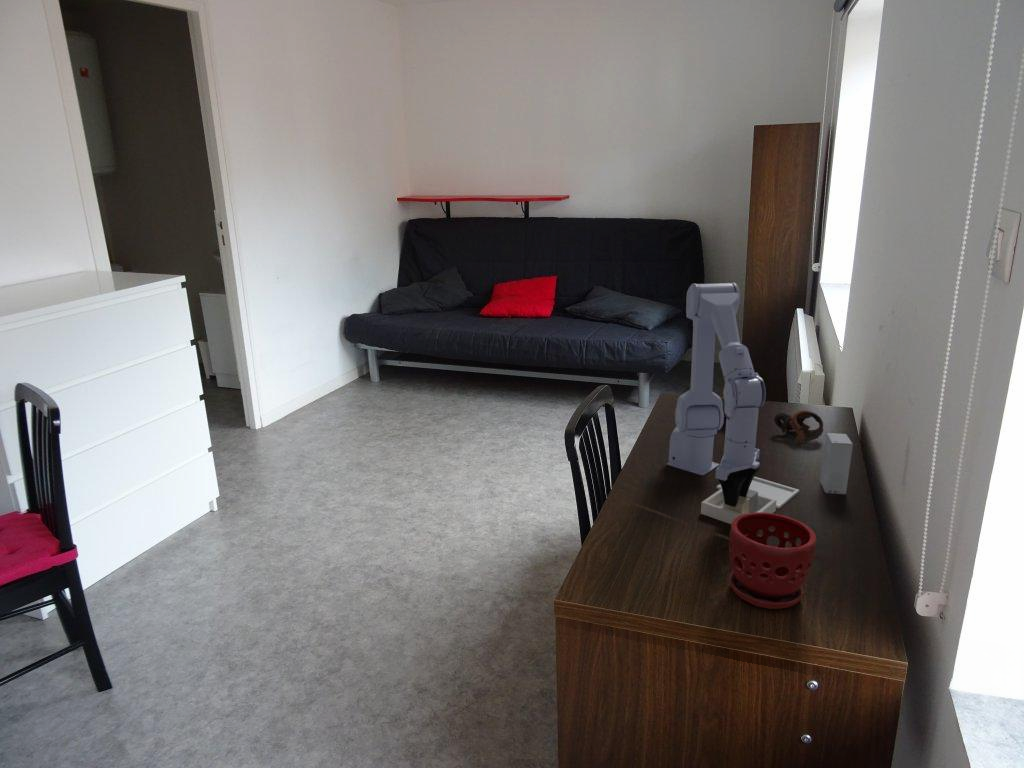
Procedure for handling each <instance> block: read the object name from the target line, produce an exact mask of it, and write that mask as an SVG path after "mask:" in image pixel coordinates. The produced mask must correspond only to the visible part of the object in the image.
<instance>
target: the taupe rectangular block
mask: <svg viewBox="0 0 1024 768" xmlns="http://www.w3.org/2000/svg"><path fill="white" fill-rule="evenodd" d="M749 505H750V498H747V497H742V496H739V498H738V502H737V504H736V506H735V507H732V506H729V505H726V504H725V501H724V498H723V508H725V509H728V510H731V511H734V512H737V513H740V514H747V513H749Z"/></svg>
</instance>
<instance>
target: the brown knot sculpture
mask: <svg viewBox="0 0 1024 768" xmlns="http://www.w3.org/2000/svg"><path fill="white" fill-rule="evenodd" d="M810 418H813V419H814V420H815V422H817V423H818V427H817V428H815V429H810V428H811V426H810V425H807V424H806V423H805V422H804V421H805V420H806V419H810ZM773 420H774V423H775V425H776V426H777V427H778V428H779V429H780V430H781V432H782V433H783V434H785V433H789V432H791V431H793V432H795V433H796V434H797V436H796V438H794V442H795V443H797V444H798V445H802V444H803V443H804V442H810V441H814V440H816V439H819V438H820V436H822V435H823V432H824V422H823V420H822V418H821V416H819V415H818V414H817V413H815V412H813V411H809V410H798V411H797V412H795V413H793V414H791V415H789V414H787V413H785V412H778V413H776V414H775V416H774V417H773Z"/></svg>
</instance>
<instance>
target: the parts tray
mask: <svg viewBox="0 0 1024 768" xmlns="http://www.w3.org/2000/svg"><path fill="white" fill-rule="evenodd" d="M721 488H722V487H721V484H720V483H719V484H717V485H716V489H717V490H720V489H721ZM749 489H750V490H754V491H757V492H758V494H759V495H762V496H765V497H769V498H772V499H775V500H777V501H776V509H781V508H782V507H783V506H784V505H786V504H787V502H789V501H791V500H792V499H794V497H795V496H797V494H799V493H800V489H798V488H794V487H791V486H787V485H783V484H781V483H778V482H774V481H772V480H771V481H770V480H768V479H764V478H762V477H761V478H760V477H757V476H754V478H753V480H752V482H751V484H750V487H749Z"/></svg>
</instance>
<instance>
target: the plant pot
mask: <svg viewBox="0 0 1024 768" xmlns="http://www.w3.org/2000/svg"><path fill="white" fill-rule="evenodd" d="M770 527H773V528H774V529H773V530H771V529H770ZM759 530H761V531H763V532H762V534H759V535H758V534H757V532H758V531H759ZM746 531H747V533H746V534H745V532H746ZM785 533H787V534H788V536H786V535H785ZM769 537H776V538H777V539H778V540H779V544H778V545H777V546H771V545H769V543H768V538H769ZM797 539H799V541H800V544H798V543H797ZM786 542H788V543H790V544H791V547H787V546H786V544H787V543H786ZM816 545H817V536H816V533H815V532H814V531H813V530H812V528H811V527H809V526H808V525H806V524H805V523H803V522H801V521H799V520H798V519H795V518H792V517H788V516H786V515H781V514H777V513H763V512H756V513H747V514H743V515H740V516H738V517H736V518H735V519H734V520H733V522H732V524H730V530H729V539H728V553H729V561H730V566H731V569H732V572H731V573H730V575H729V579H728V580H729V584H730V585H729V586H730V587H731V589H732V590H733V592H734V593H735V595H737V596H738V597H739V598H740V599H742V600H744V601H745V602H748V603H749V604H751V605H753V606H755V607H760V608H764V609H775V610H779V609H787V608H789V607H793V606H795V605H796V604H798V602H799V601H800V600H801V599H802V597H804V588H803V584H804V583H805V581H806V580H807V578H808V576H809V574H810V570H811V568H812V565H813V562H814V561H813V560H814V556H815V551H816Z"/></svg>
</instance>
